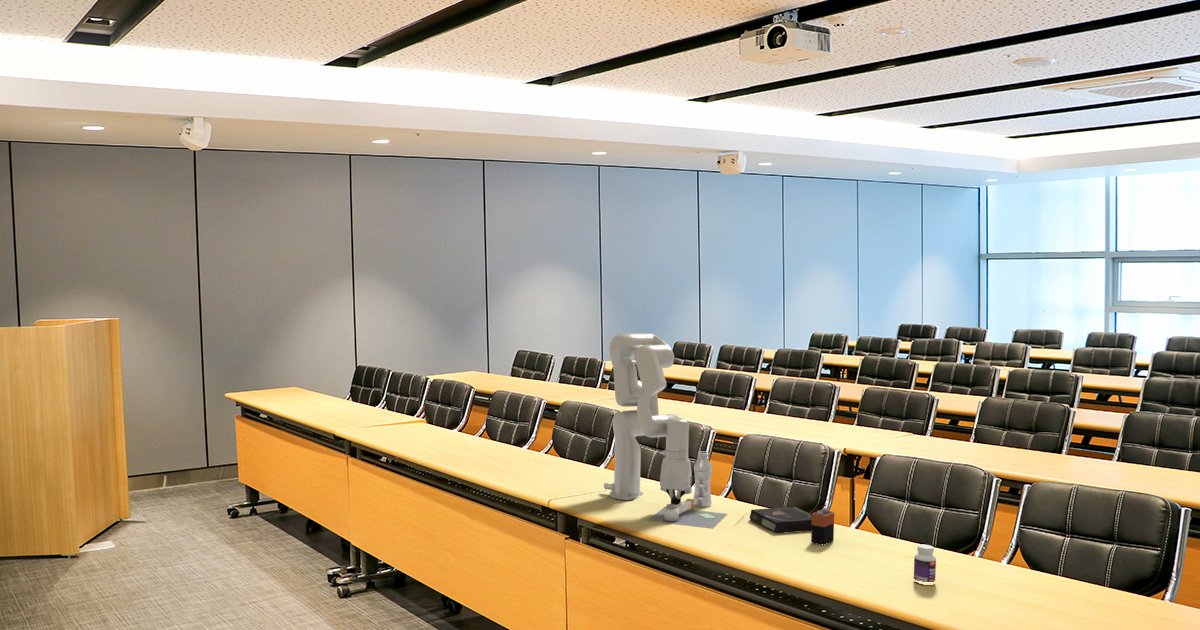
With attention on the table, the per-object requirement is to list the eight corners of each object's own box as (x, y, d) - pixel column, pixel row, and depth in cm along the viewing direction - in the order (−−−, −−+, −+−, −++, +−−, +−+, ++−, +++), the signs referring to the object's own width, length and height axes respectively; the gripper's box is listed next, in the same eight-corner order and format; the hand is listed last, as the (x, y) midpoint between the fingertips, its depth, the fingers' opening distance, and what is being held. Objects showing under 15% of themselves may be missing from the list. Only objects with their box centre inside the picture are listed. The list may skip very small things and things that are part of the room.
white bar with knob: (660, 519, 286) (660, 505, 286) (684, 508, 301) (685, 494, 301) (674, 521, 283) (674, 507, 283) (698, 510, 299) (698, 496, 299)
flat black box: (749, 521, 294) (749, 509, 294) (794, 518, 300) (794, 506, 299) (774, 535, 279) (774, 522, 279) (821, 531, 284) (821, 519, 284)
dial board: (646, 525, 286) (646, 519, 286) (664, 511, 304) (665, 506, 304) (712, 533, 277) (713, 527, 277) (727, 518, 296) (727, 513, 296)
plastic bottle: (711, 507, 311) (712, 450, 310) (711, 512, 304) (712, 454, 303) (692, 506, 311) (693, 450, 311) (692, 511, 304) (694, 453, 304)
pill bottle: (932, 587, 230) (934, 550, 230) (911, 583, 233) (912, 547, 233) (937, 581, 235) (938, 545, 234) (916, 578, 238) (917, 542, 237)
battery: (834, 541, 271) (835, 509, 271) (823, 546, 266) (824, 513, 266) (821, 538, 274) (822, 506, 274) (810, 543, 269) (811, 510, 269)
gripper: (652, 454, 295) (650, 509, 296) (695, 459, 289) (693, 514, 290) (659, 451, 302) (658, 504, 303) (701, 455, 296) (700, 509, 297)
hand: (675, 509), depth 296 cm, fingers closed
